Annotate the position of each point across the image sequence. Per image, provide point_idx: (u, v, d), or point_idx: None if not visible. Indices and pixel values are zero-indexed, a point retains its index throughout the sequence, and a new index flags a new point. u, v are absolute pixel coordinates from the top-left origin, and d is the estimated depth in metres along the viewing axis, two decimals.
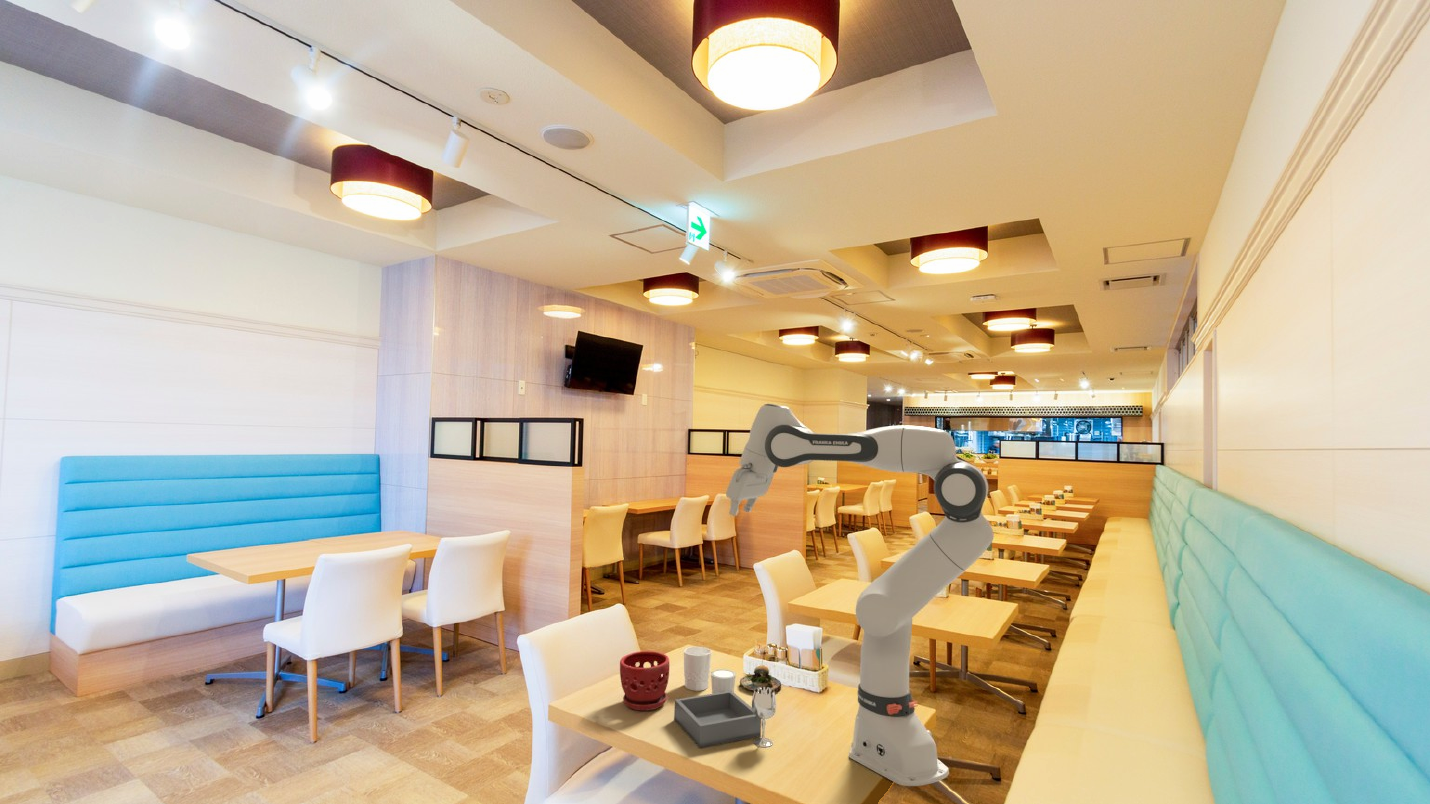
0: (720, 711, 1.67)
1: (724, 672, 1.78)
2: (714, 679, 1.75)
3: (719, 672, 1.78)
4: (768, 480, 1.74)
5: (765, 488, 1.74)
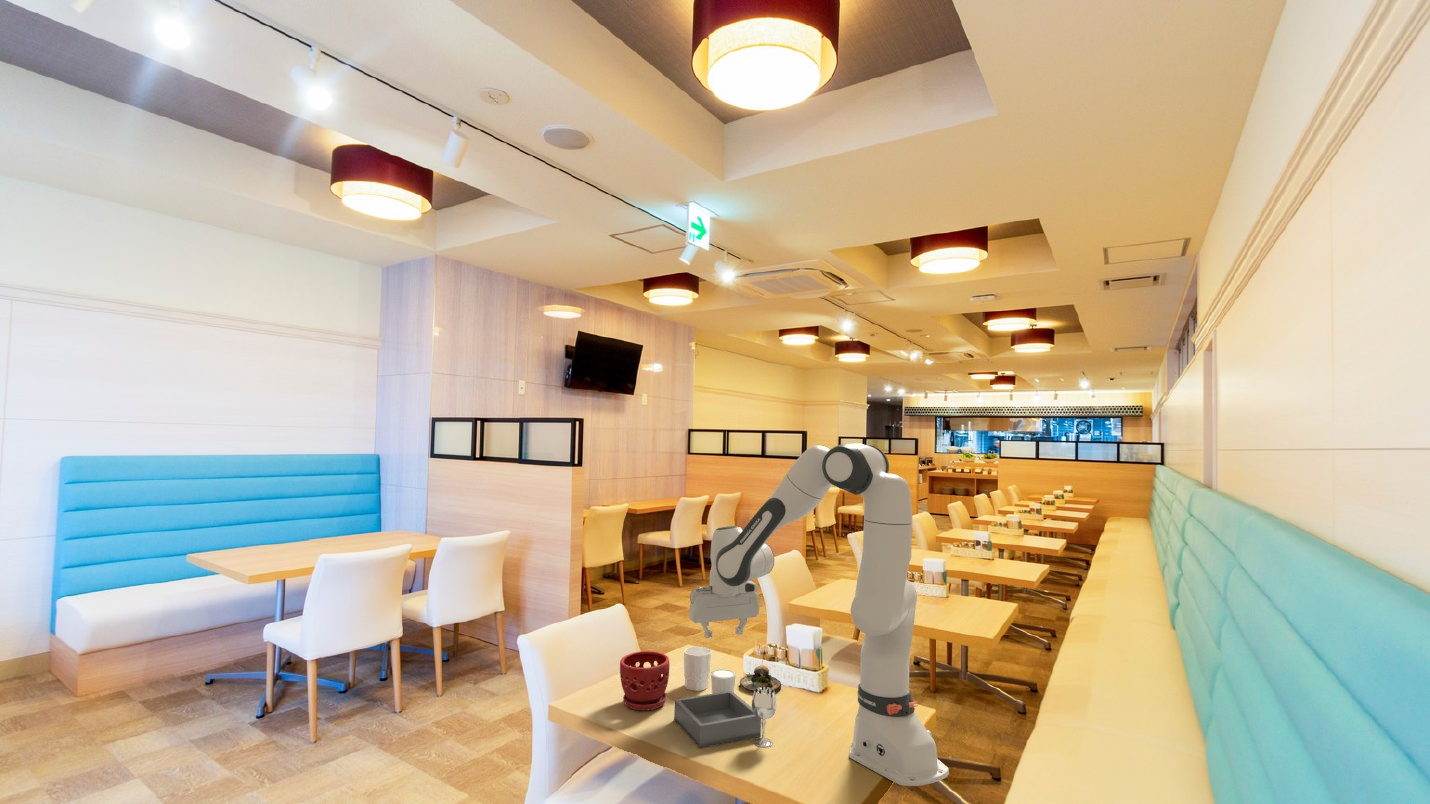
0: (720, 711, 1.67)
1: (724, 672, 1.78)
2: (714, 679, 1.75)
3: (719, 672, 1.78)
4: (752, 600, 1.80)
5: (752, 609, 1.80)
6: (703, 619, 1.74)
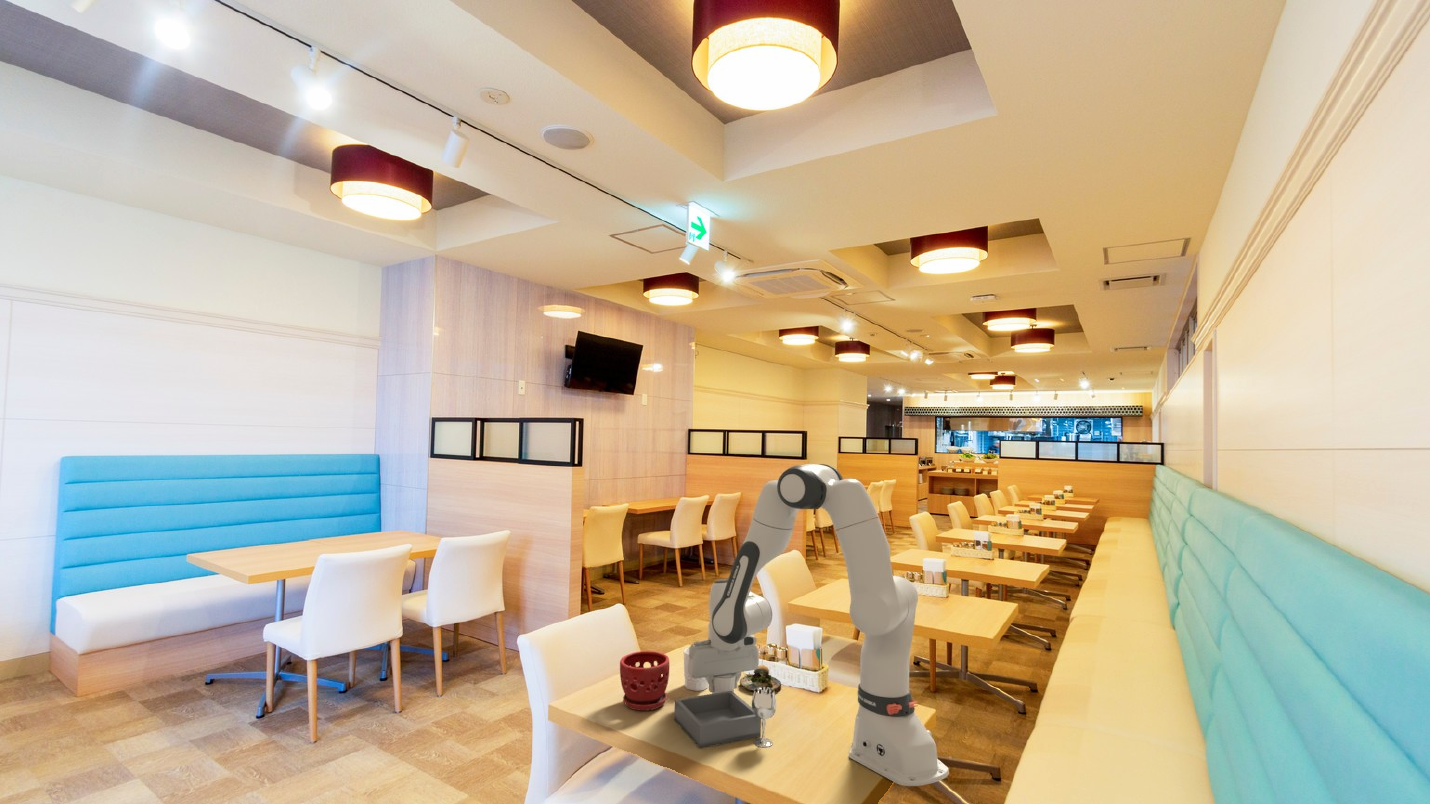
0: (720, 711, 1.67)
1: None
2: (714, 679, 1.75)
3: None
4: (752, 653, 1.79)
5: (751, 661, 1.79)
6: (702, 674, 1.73)
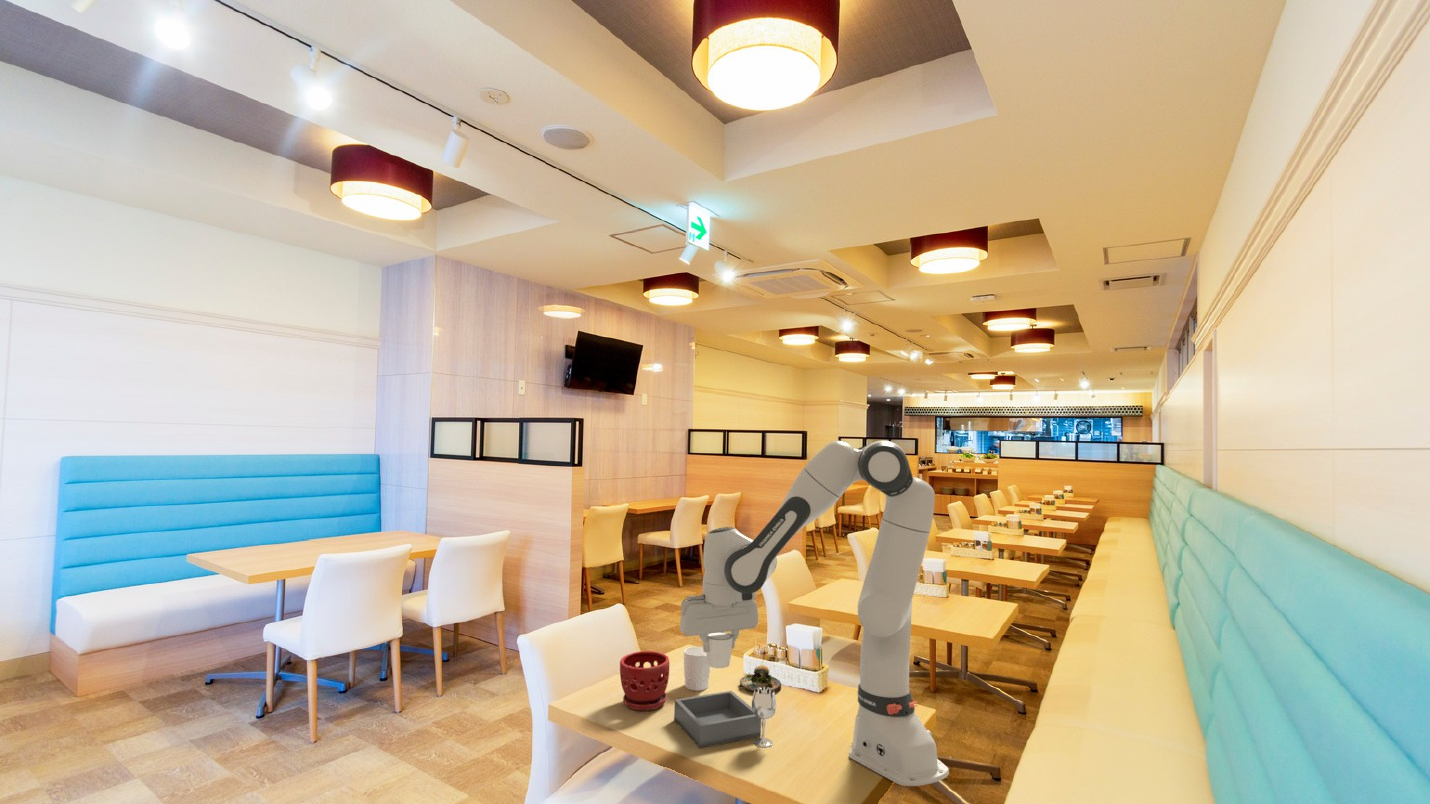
0: (720, 711, 1.67)
1: (720, 634, 1.62)
2: (709, 641, 1.58)
3: (714, 634, 1.62)
4: (750, 610, 1.63)
5: (750, 619, 1.63)
6: (696, 632, 1.56)
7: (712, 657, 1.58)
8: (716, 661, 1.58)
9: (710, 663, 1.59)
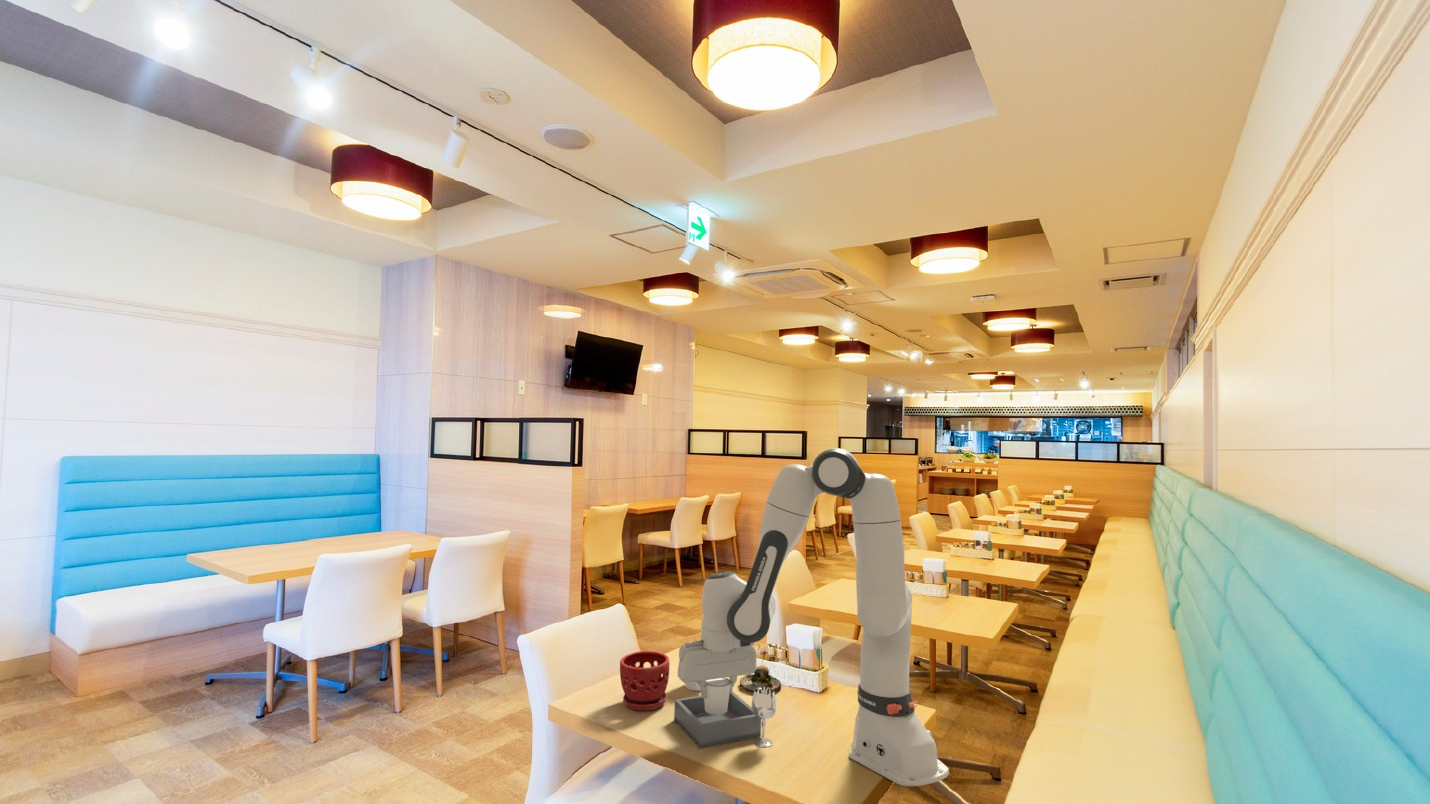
0: None
1: (718, 679, 1.61)
2: (707, 687, 1.58)
3: (712, 679, 1.61)
4: (749, 655, 1.62)
5: (748, 664, 1.62)
6: (693, 678, 1.56)
7: (710, 704, 1.57)
8: (713, 708, 1.57)
9: (707, 709, 1.58)
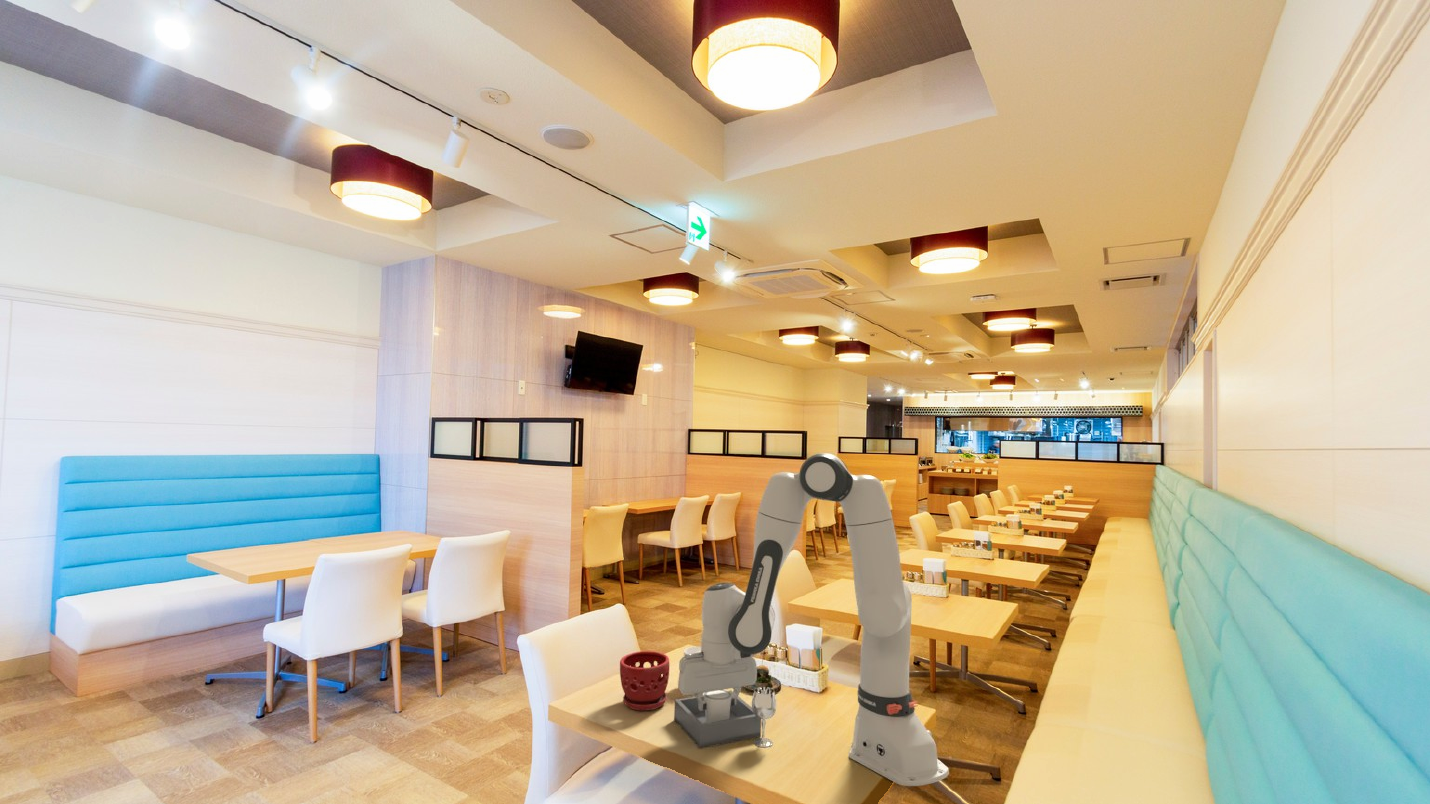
0: None
1: (718, 692, 1.61)
2: (708, 701, 1.58)
3: (713, 692, 1.61)
4: (749, 666, 1.62)
5: (749, 676, 1.62)
6: (694, 690, 1.55)
7: (711, 717, 1.57)
8: None
9: None
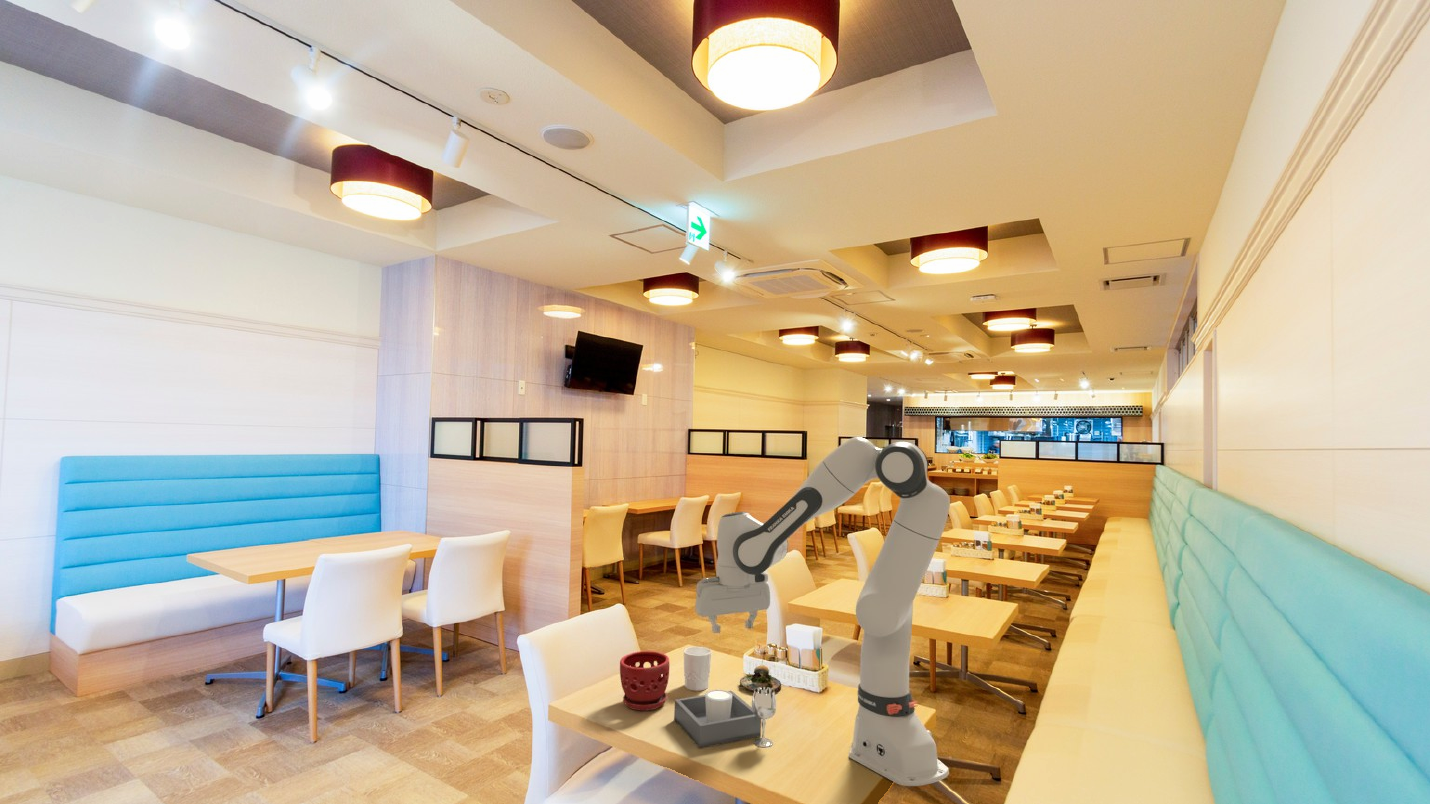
0: None
1: (719, 693, 1.61)
2: (709, 701, 1.58)
3: (714, 693, 1.61)
4: (763, 591, 1.68)
5: (762, 600, 1.68)
6: (711, 612, 1.61)
7: (712, 718, 1.57)
8: None
9: None
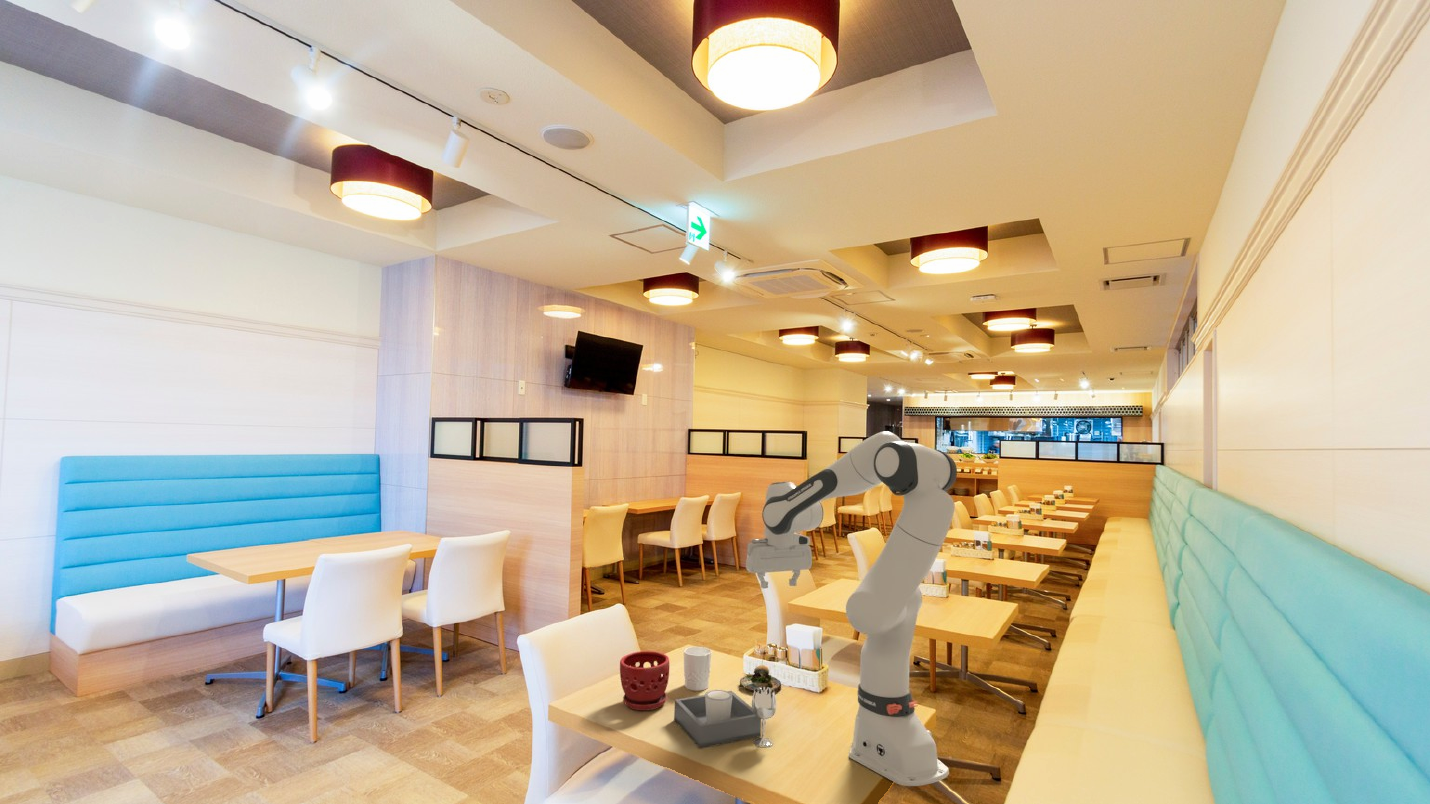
0: None
1: (719, 693, 1.61)
2: (709, 701, 1.58)
3: (714, 693, 1.61)
4: (805, 553, 1.88)
5: (805, 561, 1.88)
6: (760, 569, 1.81)
7: (712, 718, 1.57)
8: None
9: None
